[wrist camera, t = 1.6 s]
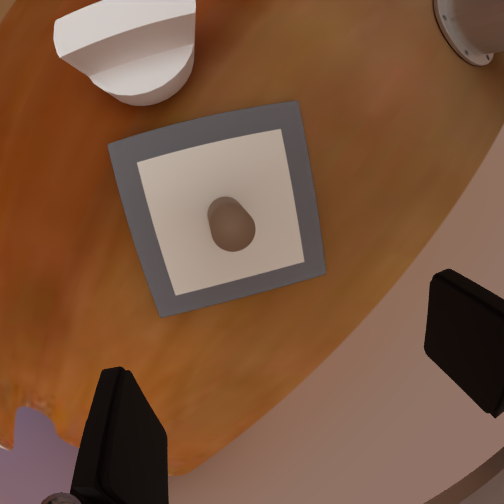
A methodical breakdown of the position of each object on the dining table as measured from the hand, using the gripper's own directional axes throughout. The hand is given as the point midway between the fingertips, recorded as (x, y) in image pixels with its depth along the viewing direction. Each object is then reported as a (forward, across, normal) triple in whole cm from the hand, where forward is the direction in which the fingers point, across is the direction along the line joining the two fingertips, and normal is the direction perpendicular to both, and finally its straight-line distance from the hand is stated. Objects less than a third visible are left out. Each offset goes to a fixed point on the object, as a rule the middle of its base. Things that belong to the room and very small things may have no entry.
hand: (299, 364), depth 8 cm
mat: (+23, 0, 0) cm, 23 cm away
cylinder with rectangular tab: (+23, +4, -16) cm, 29 cm away
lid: (+22, 0, 0) cm, 22 cm away
